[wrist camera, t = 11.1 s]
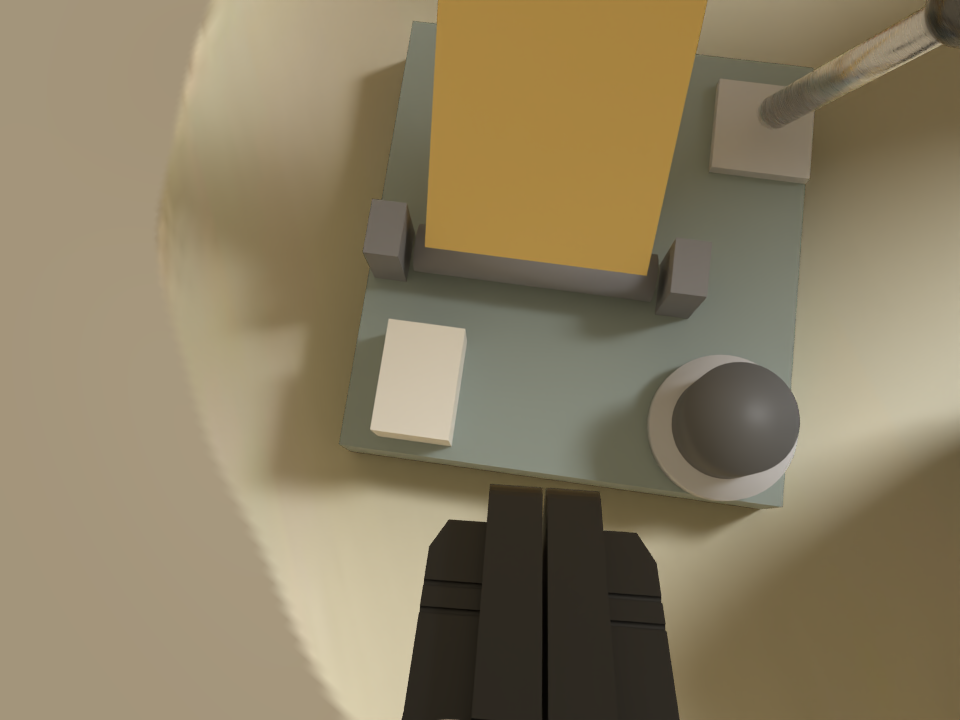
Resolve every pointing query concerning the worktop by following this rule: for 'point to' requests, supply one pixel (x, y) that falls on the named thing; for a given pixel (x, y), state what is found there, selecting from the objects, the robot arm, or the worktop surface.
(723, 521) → the worktop surface
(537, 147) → the upright ochre plank
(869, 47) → the toggle
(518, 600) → the robot arm
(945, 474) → the worktop surface
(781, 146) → the panel
